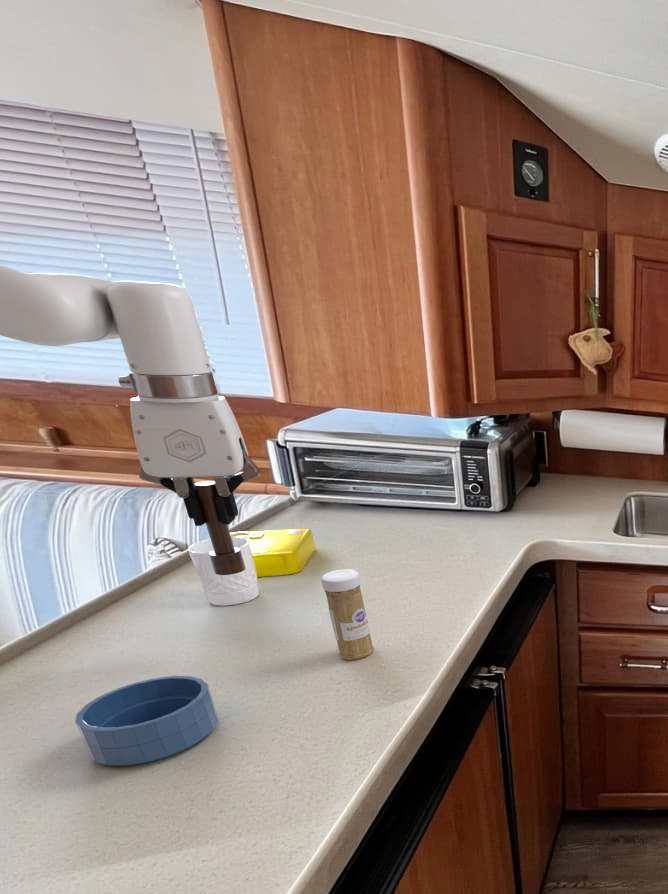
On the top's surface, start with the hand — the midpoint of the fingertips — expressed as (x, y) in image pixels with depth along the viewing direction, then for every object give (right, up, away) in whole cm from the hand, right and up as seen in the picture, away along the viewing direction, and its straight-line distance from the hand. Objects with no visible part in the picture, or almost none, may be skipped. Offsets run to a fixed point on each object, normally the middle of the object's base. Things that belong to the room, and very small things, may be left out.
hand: (215, 521), depth 88 cm
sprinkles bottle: (+13, -20, +10) cm, 26 cm away
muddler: (-1, -7, +3) cm, 8 cm away
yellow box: (-24, -6, +36) cm, 44 cm away
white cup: (-18, -12, +23) cm, 31 cm away
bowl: (+3, -28, -11) cm, 30 cm away
